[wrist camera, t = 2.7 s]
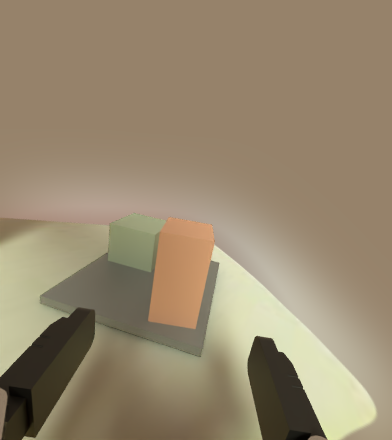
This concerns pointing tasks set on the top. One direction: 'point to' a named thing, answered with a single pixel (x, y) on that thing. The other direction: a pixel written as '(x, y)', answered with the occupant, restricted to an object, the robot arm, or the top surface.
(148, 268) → the bottom brick
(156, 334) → the baseplate
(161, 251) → the top brick
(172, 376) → the top surface
